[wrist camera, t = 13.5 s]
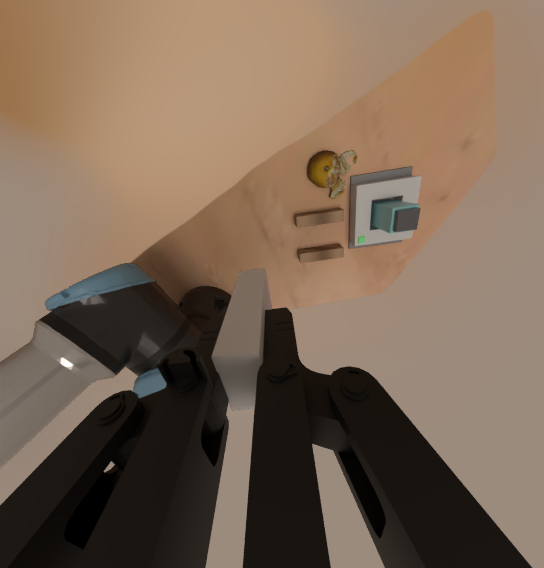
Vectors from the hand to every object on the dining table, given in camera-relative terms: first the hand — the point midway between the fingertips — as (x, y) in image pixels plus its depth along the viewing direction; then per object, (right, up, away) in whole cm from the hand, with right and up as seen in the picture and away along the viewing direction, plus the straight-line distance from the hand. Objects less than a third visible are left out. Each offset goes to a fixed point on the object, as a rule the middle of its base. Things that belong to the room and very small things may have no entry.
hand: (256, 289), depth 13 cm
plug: (+22, +15, +28) cm, 39 cm away
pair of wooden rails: (+11, +11, +31) cm, 34 cm away
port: (+22, +15, +29) cm, 39 cm away
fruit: (+12, +21, +26) cm, 36 cm away
